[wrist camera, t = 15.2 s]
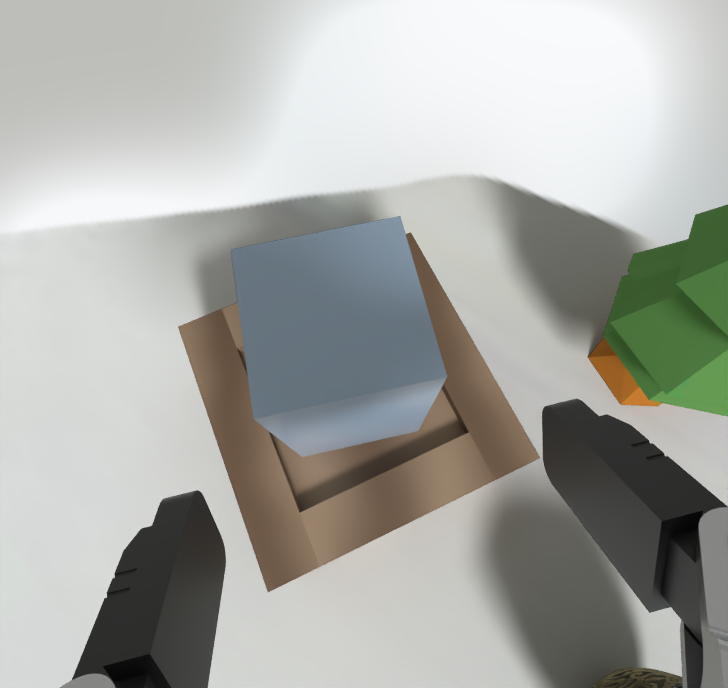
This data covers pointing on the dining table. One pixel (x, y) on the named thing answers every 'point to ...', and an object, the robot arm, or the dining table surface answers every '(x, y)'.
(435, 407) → the square wooden tray
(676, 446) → the dining table surface
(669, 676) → the cup
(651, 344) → the decorative tree
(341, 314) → the blue-grey square-topped block
